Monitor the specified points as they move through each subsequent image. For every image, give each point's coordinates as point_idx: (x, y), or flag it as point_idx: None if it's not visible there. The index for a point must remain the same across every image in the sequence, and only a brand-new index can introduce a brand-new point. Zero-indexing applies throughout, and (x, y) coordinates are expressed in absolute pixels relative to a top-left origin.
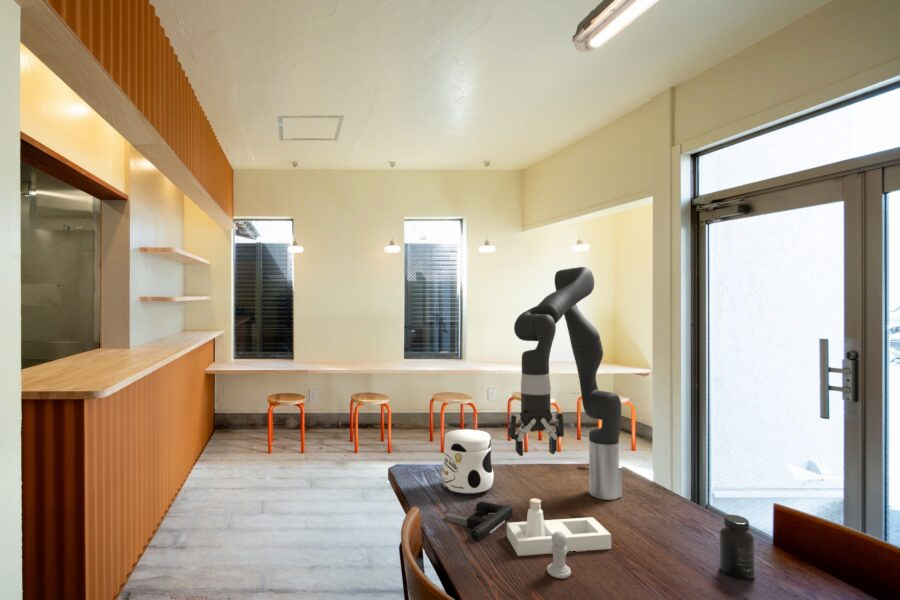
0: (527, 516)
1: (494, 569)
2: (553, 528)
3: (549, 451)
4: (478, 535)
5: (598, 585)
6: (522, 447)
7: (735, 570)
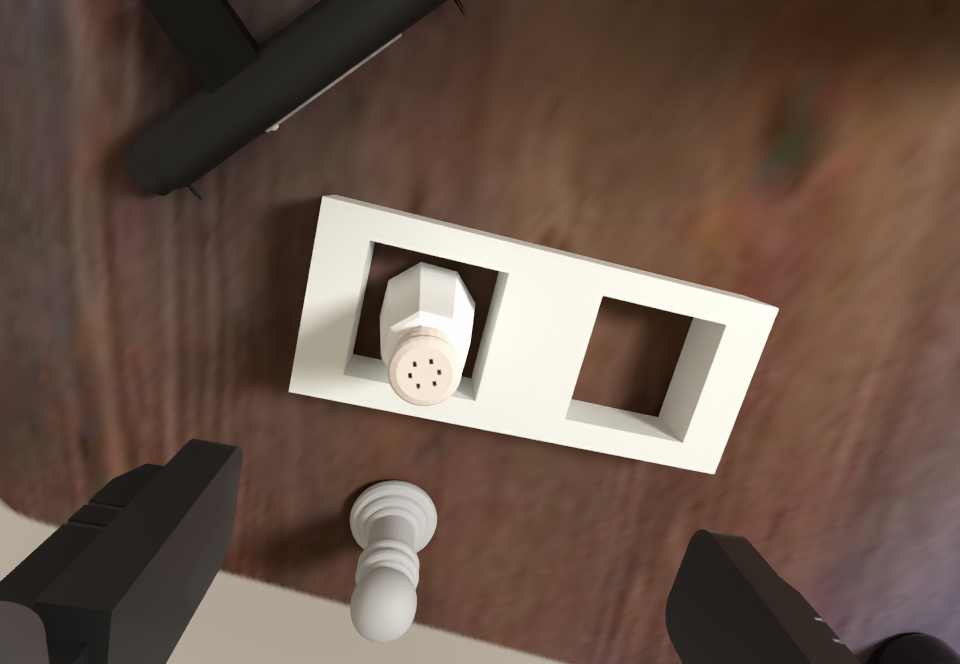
0: (388, 317)
1: (165, 423)
2: (519, 342)
3: (699, 537)
4: (158, 193)
5: (473, 606)
6: (157, 661)
7: None
